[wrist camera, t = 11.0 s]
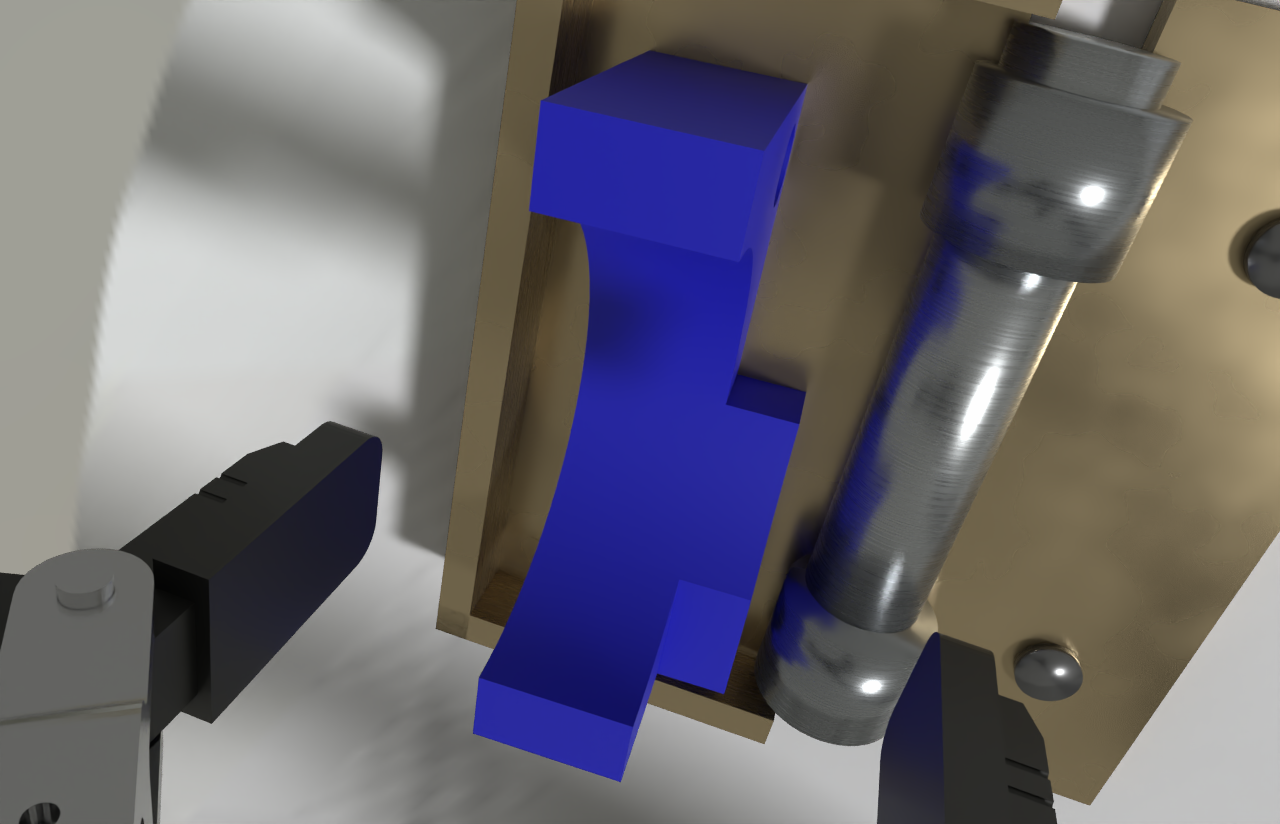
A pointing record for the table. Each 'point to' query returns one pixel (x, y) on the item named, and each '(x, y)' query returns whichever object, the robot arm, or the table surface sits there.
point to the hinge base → (941, 352)
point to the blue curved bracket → (652, 405)
